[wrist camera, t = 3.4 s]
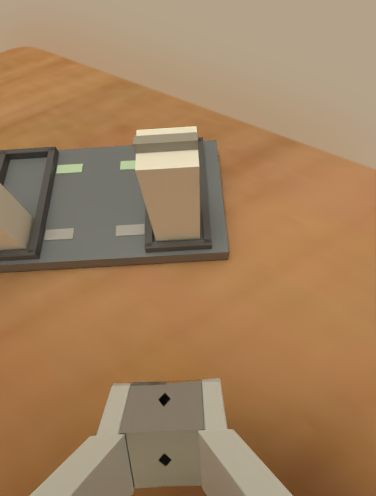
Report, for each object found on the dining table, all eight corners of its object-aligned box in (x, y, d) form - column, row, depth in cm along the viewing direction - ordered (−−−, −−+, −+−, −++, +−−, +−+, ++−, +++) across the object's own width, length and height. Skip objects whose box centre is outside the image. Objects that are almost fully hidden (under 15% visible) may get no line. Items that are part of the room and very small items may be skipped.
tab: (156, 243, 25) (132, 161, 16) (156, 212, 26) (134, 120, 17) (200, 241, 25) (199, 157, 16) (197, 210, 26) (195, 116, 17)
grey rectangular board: (-30, 274, 26) (-50, 263, 24) (1, 164, 31) (-13, 148, 29) (227, 259, 26) (229, 247, 24) (215, 151, 31) (216, 133, 29)
